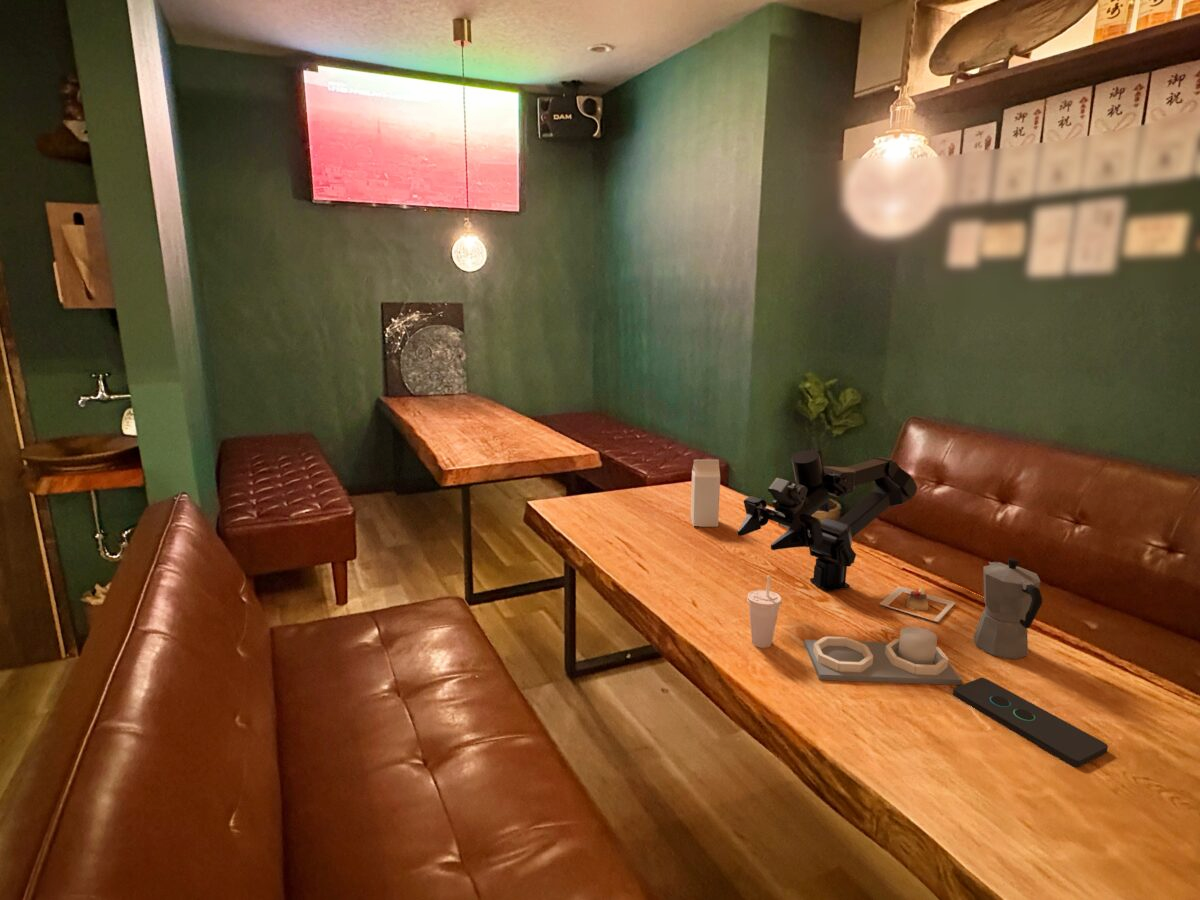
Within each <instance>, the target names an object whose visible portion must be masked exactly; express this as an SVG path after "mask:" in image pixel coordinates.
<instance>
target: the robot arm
mask: <svg viewBox="0 0 1200 900" xmlns="http://www.w3.org/2000/svg"><path fill="white" fill-rule="evenodd" d="M822 455H823V454H822V450H821V449H818V448H812V449H810V450H809V449H808V450H801V451H799V452H794V453H793V454H792V455H791V463H792V469H793V474H794V479H795V483H793V482H792V481H789V480H787V479H783V478H779V477H776V478H775V479H774V480H773V481H772V483H771V484H770V485H769V487H768V488H767V491H768V493H770V494H771V496H772V497H773V500H772V501H771V503H772V507H774V509H773V508H771V507H768V506H767V501H766V500H764V499H763V498H758V497H755V496H752V495H750V496H748V497H746V498H745V499H744V500H743V504H744V509H745V514H746V515H745V518H744V519H743V521H742V523H741V524H740V526H739V528H738V530H737V532H736V533H737V536H738V537H742V536H746V535H748V534H750V533H753V532H755V531H759V530H761V529H762V526H763V527H764V526H765V525H767V524H768V522H769V521H772V522H774V523H777V524H778V526H779V527H781V528H785V529H787V530H786V531H785V532H784V533H782V534H780V536H779V537H778V538H776V539H775V540H774V541H773V542H772V543H771V544H770V549H771V550H772V551H776V550H784V549H792V548H803V547H804V548H808V549H809V556H811V557H815V565H814V568H813V577H811V578H809V581H810V582H811V583H813V584H815V586H818V587H819V588H820V589H822V590H824V591H826V592H832V591H837V590H842V589H843V590H844V589H849V588H851V585H850V584H849V583H847V582H846V579H847V568H849V567H851V566H852V564H854V563H855V559H856V556H857V553H856V552H855V550H853V548H852V544H853V542H852V541H853V538H854V537H855V536H856V535H857V534H859V533H860V532H861V531H862V530H863V529H864V528H866V527H867V526H868V525H869V524H870V523H871V522H873V521H874V520H875V519H876V518H877V517H879V516H880V515H881V514H882V513H884V512H885V511H886V510H887V509H888V508H889V507H895V506H899V505H904V504H905V503H907V502H908V501H910V500H912V499H913V497H914V496H915V495H916V493H917V490H918V486H917V483H916V481H915V480H914V478H913V477H912V476H911V474H909V473H908V472H906V470H904V469H902V468H901V467H900V465H899V464H898V462H896V461H894V459H890V458H886V457H885V458H884V457H881V456H877V457H873V458H872V459H869V460H866V461H863V462H859V463H856V464H852V465H849V466H846V467H844V466H842V467H841V466H830V465H829V466H828V465H827V466H824V463H823V459H822V458H823V456H822ZM870 482H873V484H874V488H873V491H872V492H871V493H869V494H868V495H867V496H866V497H865V498H864V499H862V500H861V501H860V502H859V503H857V504H856V505H855V506H854V507H852V508H851V509H849V511H847V512H846V513H845V514H844V515H842V516H841V517H840V518H839V519H837V520H834V519H832V518H829V517H825V518H823V519H822V520H821V519H819V518H818V517H814V516H812V515H814V514H815V513H816V512H817V511H821V512H822V511H823V512H826V513H829V512H830V509H831V500H830V496H833V497H837V498H839V499H840V498H845V497H846V496H848V495H850V494H853V492H854V491H855V488H857V486H860V485H864V484H867V483H870Z"/></svg>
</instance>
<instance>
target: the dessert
mask: <svg viewBox="0 0 1200 900" xmlns="http://www.w3.org/2000/svg"><path fill="white" fill-rule="evenodd" d="M902 593H905V594H908V595H909V596H908V598H907V600H906V602H905V605H906V607H908V608H910V609H912V608H914V609H913V610H916V609H917V611H927V610H929V609H928V608H930V606H929V603H928V601H929V600H930V601H933V602H937V603H940V604H943V605H946V606H945V607H944V608H943V609H942V612H941V611H940V613H939V614H937V616H936V617H935V618H934V619H933V618H929V617H926V616H922V615H919V614H916V613H913V612H909V611H906V610H903V609H901V608H896V607H893V606H890V604H891V603H892V602H893V601H894V600H895V599H896V598H898V597H899V596H900V595H901V594H902ZM956 603H957V602H956V601H953V600H949V599H946V598H942V597H939V596H936V595H932V594H928V593H926V590H925V589H924V588H923V587H920V588H918V589H917V590H915V589H911V588H907V587H903V586H900V585H899V586H897V587H896V588H895V589H894V590H893V591H891V593H890V594H889V593H888V595H887V596H886V597H885V598H884V599H882V601H880V602H879V603H878V604H879V605H880V606H882V607H886V608H888V609H891V610H896V611H897V612H901V613H905V614H907V613H908V614H907V615H911V616H914V617H917V618H920V617H921V618H920V619H924V620H927V621H931V622H932V623H933V622H934V623H939V622H940V621H941V620H942V619H943V618H944V617H945V615H946V614H947V613H948V612H949V611H950V610H951V609H952V608H953V607H954V605H955V604H956ZM926 609H927V610H926Z"/></svg>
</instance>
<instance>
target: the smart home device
mask: <svg viewBox="0 0 1200 900" xmlns="http://www.w3.org/2000/svg"><path fill="white" fill-rule="evenodd" d="M952 695H953V697H955V698H956V699H957V700H959V699H960V700H959V701H961V702H963V703H964V702H965V703H964V704H966V705H967V706H969V705H970V706H969V707H971V706H972V707H971V708H973V709H974V708H975V710H976V711H978V712H979V713H981V714H983V715H985V716H986V717H988V718H990V719H991V720H993V721H995V722H997V723H998V724H1000V725H1001V726H1003V727H1005V728H1007V729H1008V730H1009V731H1011V732H1013V733H1015V734H1017V735H1019V736H1020V737H1022V738H1024V739H1025V740H1027V741H1029V742H1031V743H1032V744H1034V745H1035V746H1037V747H1038V748H1040V749H1042V750H1044V751H1045V752H1047V753H1049V754H1050V755H1052V756H1054V757H1056V758H1057V759H1059V760H1060V761H1062V762H1064V763H1066V764H1068V765H1070V766H1071V767H1074V768H1080V767H1082V766H1084V765H1086V764H1088V763H1090V762H1091V761H1094V760H1095V759H1098V758H1100V757H1102V756H1104V755H1106V754H1107V753H1108V749H1109V748H1108V747H1109V745H1108V744H1107V743H1105V742H1104V741H1102V740H1100V739H1099V738H1097V737H1095V736H1093V735H1091V734H1090V733H1087V732H1086V731H1084V730H1082V729H1080V728H1078V727H1076V726H1074V725H1073V724H1071V723H1069V722H1067V721H1066V720H1064V719H1062V718H1060V717H1057V716H1056V715H1054V714H1052V713H1051V712H1049V711H1046V710H1045V709H1043V708H1042V707H1041V706H1040V707H1039V706H1038V705H1036V704H1034V703H1032V702H1030V701H1029V700H1026V699H1025V698H1023V697H1021V696H1019V695H1017V694H1015V693H1014V692H1011V691H1010V690H1008V689H1007V688H1004V687H1002V686H1000V685H999V684H997V683H995V682H993V681H992V680H989V679H987V678H985V677H980V678H976V679H974V680H972V681H971V680H970V681H968V682H966V683H963V684H961V685H957V686H955V687H953V690H952Z"/></svg>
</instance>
